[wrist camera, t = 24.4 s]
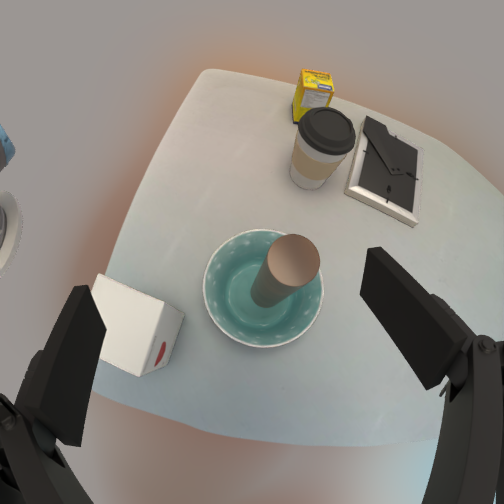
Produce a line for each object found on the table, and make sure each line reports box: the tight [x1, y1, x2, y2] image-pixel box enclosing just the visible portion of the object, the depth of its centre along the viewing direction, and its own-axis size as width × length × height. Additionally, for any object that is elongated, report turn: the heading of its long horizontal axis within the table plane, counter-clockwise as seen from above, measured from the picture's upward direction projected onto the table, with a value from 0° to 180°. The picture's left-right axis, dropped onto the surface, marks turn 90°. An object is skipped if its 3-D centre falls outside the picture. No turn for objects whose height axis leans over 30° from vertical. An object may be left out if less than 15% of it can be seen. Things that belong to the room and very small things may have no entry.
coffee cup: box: [290, 107, 356, 190], centre depth 44 cm, size 9×9×15 cm
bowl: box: [203, 229, 324, 348], centre depth 41 cm, size 16×16×8 cm
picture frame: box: [344, 115, 424, 227], centre depth 52 cm, size 16×3×21 cm
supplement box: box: [292, 69, 334, 124], centre depth 51 cm, size 6×6×11 cm
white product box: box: [91, 274, 185, 377], centre depth 34 cm, size 9×9×15 cm
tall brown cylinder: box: [250, 234, 320, 308], centre depth 29 cm, size 4×4×16 cm
